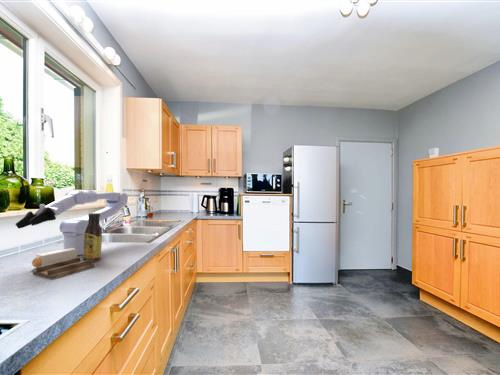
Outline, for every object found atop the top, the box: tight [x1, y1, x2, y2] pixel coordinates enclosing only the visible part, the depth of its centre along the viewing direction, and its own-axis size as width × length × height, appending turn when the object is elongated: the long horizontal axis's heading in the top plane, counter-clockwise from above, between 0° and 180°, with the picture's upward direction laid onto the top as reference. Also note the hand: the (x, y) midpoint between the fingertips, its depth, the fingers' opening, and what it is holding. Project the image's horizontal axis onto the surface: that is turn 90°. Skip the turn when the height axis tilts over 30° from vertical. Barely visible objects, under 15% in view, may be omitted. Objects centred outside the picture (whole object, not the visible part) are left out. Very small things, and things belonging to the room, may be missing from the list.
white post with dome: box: [31, 248, 78, 268], centre depth 93 cm, size 14×4×5 cm, turn 155°
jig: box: [32, 256, 96, 280], centre depth 87 cm, size 14×12×2 cm
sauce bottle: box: [82, 212, 103, 263], centre depth 99 cm, size 6×6×20 cm
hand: (24, 224), depth 88 cm, fingers open, 7 cm apart
